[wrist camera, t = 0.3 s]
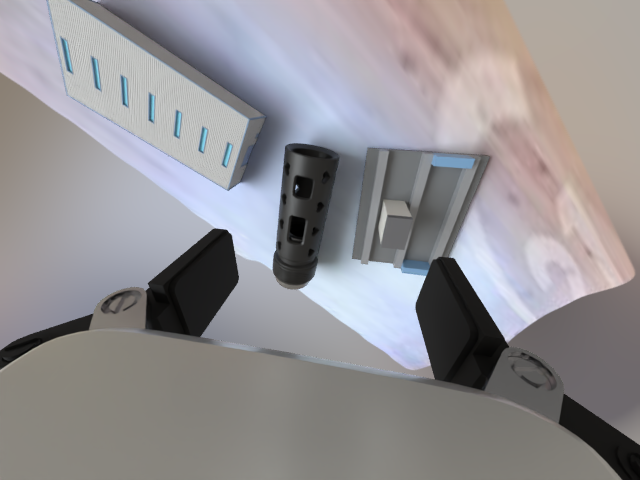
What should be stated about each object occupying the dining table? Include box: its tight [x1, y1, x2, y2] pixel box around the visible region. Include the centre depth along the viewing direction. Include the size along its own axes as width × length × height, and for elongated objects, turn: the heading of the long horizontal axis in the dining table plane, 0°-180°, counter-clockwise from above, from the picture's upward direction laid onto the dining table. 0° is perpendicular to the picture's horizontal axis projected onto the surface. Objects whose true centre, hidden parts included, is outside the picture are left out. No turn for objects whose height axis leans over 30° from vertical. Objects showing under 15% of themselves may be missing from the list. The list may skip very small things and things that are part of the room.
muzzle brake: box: [273, 143, 339, 289], centre depth 45 cm, size 10×28×10 cm, turn 169°
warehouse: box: [46, 0, 267, 191], centre depth 38 cm, size 30×14×8 cm, turn 59°
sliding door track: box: [352, 148, 490, 276], centre depth 44 cm, size 24×20×4 cm
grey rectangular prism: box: [378, 199, 413, 250], centre depth 42 cm, size 6×4×8 cm, turn 178°
